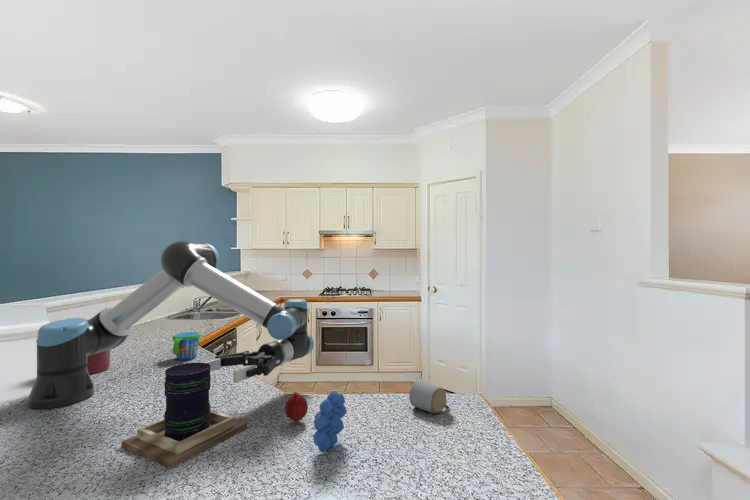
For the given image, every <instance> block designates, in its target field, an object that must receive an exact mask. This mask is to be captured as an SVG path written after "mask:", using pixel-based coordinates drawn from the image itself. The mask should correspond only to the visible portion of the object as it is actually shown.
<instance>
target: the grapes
mask: <svg viewBox="0 0 750 500" xmlns="http://www.w3.org/2000/svg"><path fill="white" fill-rule="evenodd" d="M345 403H346V400H345V396H344V394H343V393H341V392H339V393H338V392H337V391H335V390H333V391H330V392H329V394H328V395H327V397H326V399H323V401H321V402H320V404H319V411H318V412H317V413H315V415H314V420H313V424H314V425H313V426H314V428H315V430H316V431H315V432H314V434H313V435H312V436H313V437H312V438H313V439H312V440H313V443H314V445H315V446H317V447H318V450H319V452H321V453H326V452H327V451H328V450H329V449H330V448H333V447H334V446H335V445H336V444H337V442H338V441H339V439H338V434H340V433H341V432H342V431H343V430H344V429H345V426H344V421H343V420H342V419H343V418H344V417H345V416H346V414H347V413H348V411H347V407H346V406H345Z"/></svg>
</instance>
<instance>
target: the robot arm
mask: <svg viewBox="0 0 750 500" xmlns="http://www.w3.org/2000/svg"><path fill="white" fill-rule="evenodd" d="M219 254H220V253H219V251H218V250H217V249H216V247H214V245H212V244H210V243H206V242H203V241H186V240H180V241H174V242H172V243H171V244H169V245H167V246H166V247H165V248H164V250H163V251H162V253H161V257H160V265H161V267H162V269H161V270H160V271H158V272H157V273H156V274H154V275H153V276H152V277H151V278H150V279H148V280H147V281H146V282H144V283H143V284H142V285H140V286H139V287H138V288H136V289H135V290H134V291H133V292H131V293H130V294H129V295H127V296H126V297H125V298H124V299H122V300H121V301H120V302H119V303H117V304H116V305H114V306H113V307H106V308H103V309H101V311H99V312H98V313H97V314H95V315H94V316H92V318H89V319H86V318H83V317H71V318H65V319H59V320H58V319H57V320H54V321H51V322H48V323H46V324H44V325H42V326H41V327H39V329H38V331H37V337H36V339H35V341H36V378H35V381H34V383H33V385H32V389H31V390H30V393H29V396H28V398H27V406H28V408H30V409H33V410H35V409H36V410H37V409H38V410H39V409H40V410H43V409H44V410H46V409H53V408H60V407H64V406H68V405H73V404H77V403H79V402H82V401H85V400H87V399H90V398H91V397H92V396H94V394H95V385H94V382H93V380H92V378H91V374H89V372H88V370H87V357H88V356H91V355H94V354H97V353H100V352H103V351H107V350H110V351H111V350H114V349H116V348H118V347H119V346H122V345H123V343H125V341H126V340H127V339H128V337H129V335H130V334H131V332H132V331H133V326H134V325H136V323H139V321H140V320H142V319H143V318H145V317H146V315H148V314H150V313H151V312H152V311H154V310H155V309H156V308H158V307H159V306H160V305H161V304H163V302H165V301H167V299H169V298H170V297H172V296H173V295H174V294H175V293H177V292H178V291H179V290H181V289H182V288H183V287H188V288H189V287H192V286H193V287H195V289H196V288H197V289H198V290H200V292H203V293H205V294H207V295H209V296H210V297H212V298H214V299H215V300H217V301H218V302H220V303H222V304H224V305H226V306H227V307H229V308H230V309H233V310H234V311H235V312H237V313H239V314H241V315H243V316H244V317H245V318H246V317H247V318H248V319H250V320H251V321H253V322H255V323H257V324H258V325H260V326H262V327H263V328H265V329H266V330H267V332H268V333H269V336H271V337H272V338H273V339H275V340H274V341H270V342H268V343H263V344H262V345H260V347H259V348H258V350H257V351H256V350H255V351H252V352H250V351H249V350H244V351H242V352H241V351H240V352H235V353H229V354H221V355H216V356H214V359H212V360H208V361H204V362H203V363H207V364H209V365H210V372H213V371H216V370H219V371H220V369H221V368H222V367H230V366H231V367H232V366H240V365H241V366H243V368H239V369H237V370H235V371H233V380H232V381H233V384H237V383H240V382H241V381H245V380H248V379H250V378H253V377H255V376H261V375H262V374H263V376H265V377H266V376H268V375H270V374H271V373H272V372H273V370H275V369H276V368H277V367H278V366H283V365H284V364H286V363H289V362H291V361H294V360H297V359H301V358H303V357H306V356H308V355H309V354H311V353H312V351H313V349H314V346H315V342H314V339H313V337H312V335H311V334H310V333H309V332H308V311H309V310H308V301H307V300H305V299H302V298H298V299H297V298H293V299H287V300H285V301H284V306H283V307H282V306H281V305H279V304H277V303H276V302H273V301H272V300H270V299H268V298H267V297H265V296H264V295H262V294H261V293H258V292H257V291H255V290H253V289H252V288H250V287H248V286H246V285H244V284H243V283H241V282H239V281H238V280H236V279H234V278H233V277H231V276H229V275H228V274H225V273H224V272H222V271H221V270H219V266H220V261H221V260H220V259H221V258H220V255H219Z"/></svg>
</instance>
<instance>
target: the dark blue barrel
mask: <svg viewBox="0 0 750 500" xmlns="http://www.w3.org/2000/svg"><path fill="white" fill-rule="evenodd" d="M164 374H165V375H164V376H165V377H164V396H165V410H164V415H163V419H164V426H165V437H168V438H171V439H173V440H176V441H182V440H184V439H186V438H188V437H190V436H192V435H194V434H197V433H199V432H201V431H203V430H205V429H207V428H209V427H210V424H209V422H210V410H212V409H211V408H212V407H211V403H210V390H211V386H212V385H211V381H212V380H211V379H212V377H211V371H210V365H209V364H207V363H204V362H187V363H181V364H177V365H173V366H171V367H169V368H167V369H165V373H164Z"/></svg>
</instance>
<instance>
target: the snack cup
mask: <svg viewBox="0 0 750 500" xmlns="http://www.w3.org/2000/svg"><path fill="white" fill-rule="evenodd" d="M201 336H202V333H200V332H197V331H187V332H186V331H185V332H180V333H174V334H173V335H172V336H171V338H172V340H173V347H172V354H173V355H175V358H176V360H180V361H186V360H193V359H194V358H196V357H197V355H198V349H199V346H200V338H201Z"/></svg>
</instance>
